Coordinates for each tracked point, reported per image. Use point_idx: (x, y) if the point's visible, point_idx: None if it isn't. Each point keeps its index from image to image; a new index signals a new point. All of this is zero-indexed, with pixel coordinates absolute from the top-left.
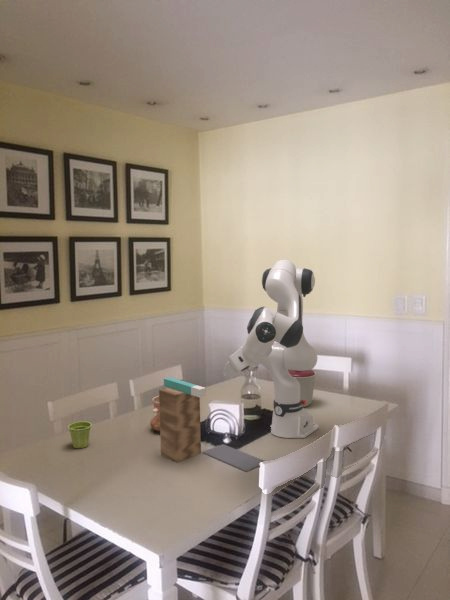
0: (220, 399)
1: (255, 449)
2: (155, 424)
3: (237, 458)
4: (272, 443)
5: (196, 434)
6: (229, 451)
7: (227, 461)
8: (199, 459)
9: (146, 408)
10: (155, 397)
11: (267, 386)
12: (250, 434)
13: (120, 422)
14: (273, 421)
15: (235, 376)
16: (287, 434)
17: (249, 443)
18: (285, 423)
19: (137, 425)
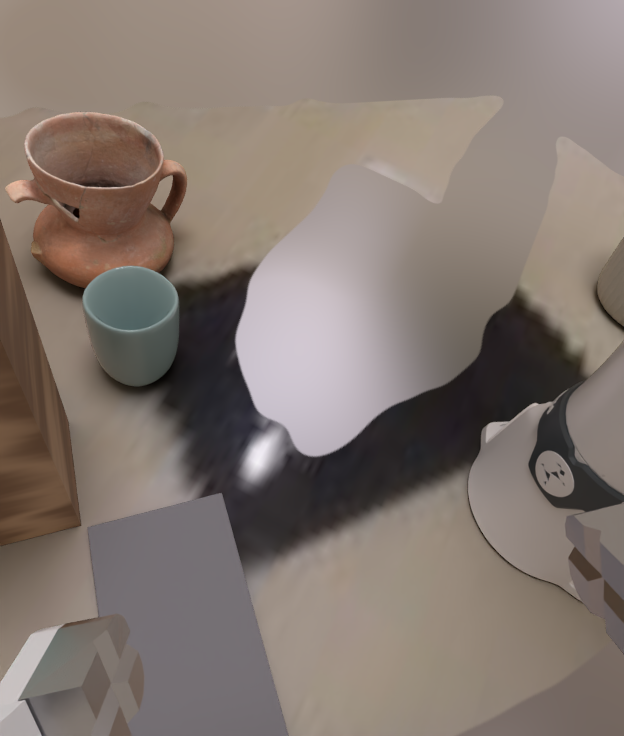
0: (399, 168)
1: (334, 614)
2: (36, 240)
3: (192, 697)
4: (434, 587)
5: (30, 492)
6: (203, 588)
7: None
8: (26, 593)
9: (152, 112)
10: (66, 117)
11: (568, 166)
12: (381, 450)
13: (4, 145)
14: (502, 459)
15: (126, 702)
16: (526, 560)
17: (338, 534)
18: (547, 530)
19: None
